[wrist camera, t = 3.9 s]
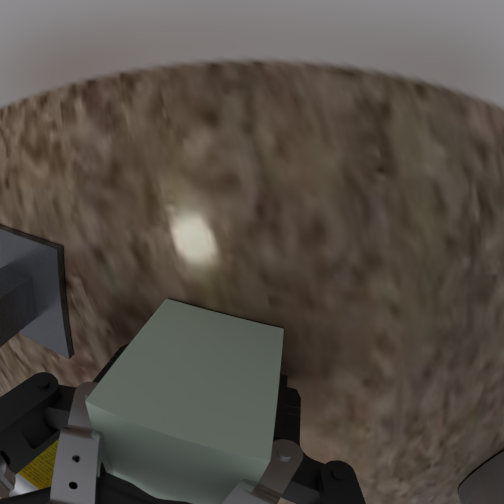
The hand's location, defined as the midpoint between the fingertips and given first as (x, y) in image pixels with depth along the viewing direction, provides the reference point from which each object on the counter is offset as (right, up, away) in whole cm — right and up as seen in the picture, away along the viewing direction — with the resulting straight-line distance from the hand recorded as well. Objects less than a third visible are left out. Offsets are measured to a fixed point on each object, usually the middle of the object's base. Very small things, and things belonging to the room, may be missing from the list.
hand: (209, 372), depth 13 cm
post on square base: (-12, +3, +2) cm, 12 cm away
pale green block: (0, 0, +1) cm, 1 cm away
